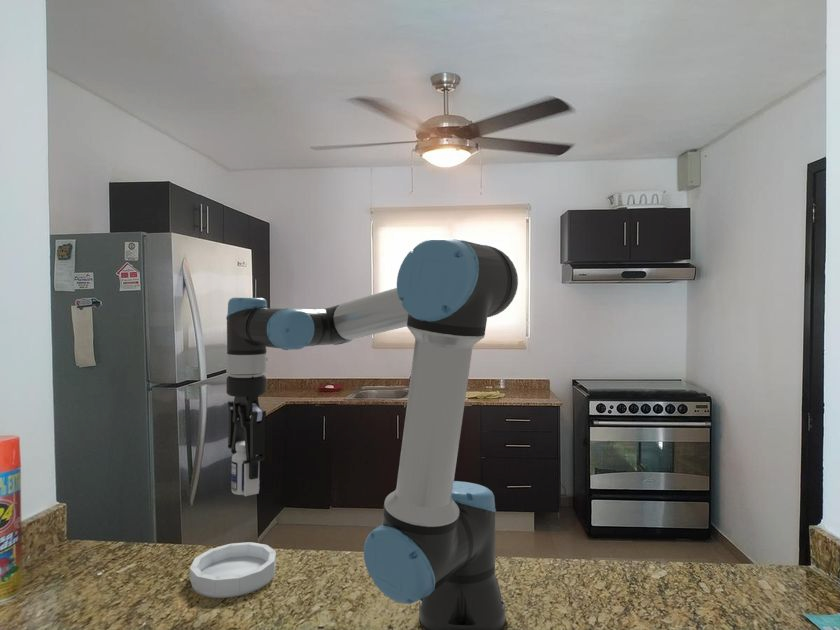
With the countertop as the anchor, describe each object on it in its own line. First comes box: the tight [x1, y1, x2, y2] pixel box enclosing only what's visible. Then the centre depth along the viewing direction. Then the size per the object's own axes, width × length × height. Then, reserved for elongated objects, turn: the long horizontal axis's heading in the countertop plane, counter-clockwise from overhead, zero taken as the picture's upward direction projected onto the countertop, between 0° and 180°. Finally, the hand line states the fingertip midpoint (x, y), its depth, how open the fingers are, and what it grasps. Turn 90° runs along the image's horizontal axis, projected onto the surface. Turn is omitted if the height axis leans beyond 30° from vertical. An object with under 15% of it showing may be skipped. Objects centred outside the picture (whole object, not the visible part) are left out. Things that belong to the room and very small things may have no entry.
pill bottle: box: [230, 441, 261, 496], centre depth 108 cm, size 5×5×10 cm
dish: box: [189, 541, 277, 599], centre depth 109 cm, size 16×16×4 cm
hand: (245, 489), depth 108 cm, fingers closed on pill bottle, 5 cm apart
